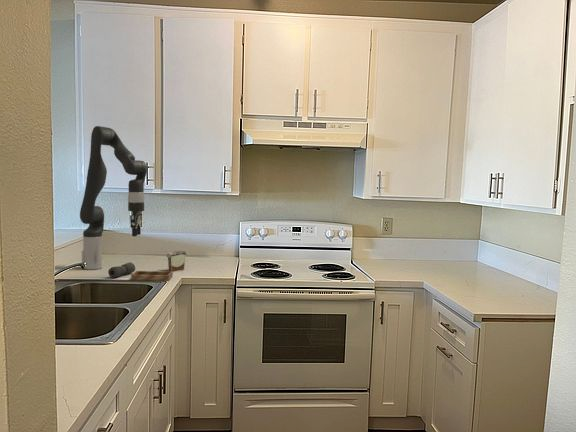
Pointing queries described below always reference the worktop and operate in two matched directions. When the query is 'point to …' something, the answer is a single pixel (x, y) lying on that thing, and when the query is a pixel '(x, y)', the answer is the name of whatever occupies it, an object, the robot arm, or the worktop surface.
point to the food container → (176, 260)
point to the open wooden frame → (152, 275)
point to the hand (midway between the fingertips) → (136, 235)
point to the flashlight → (122, 269)
